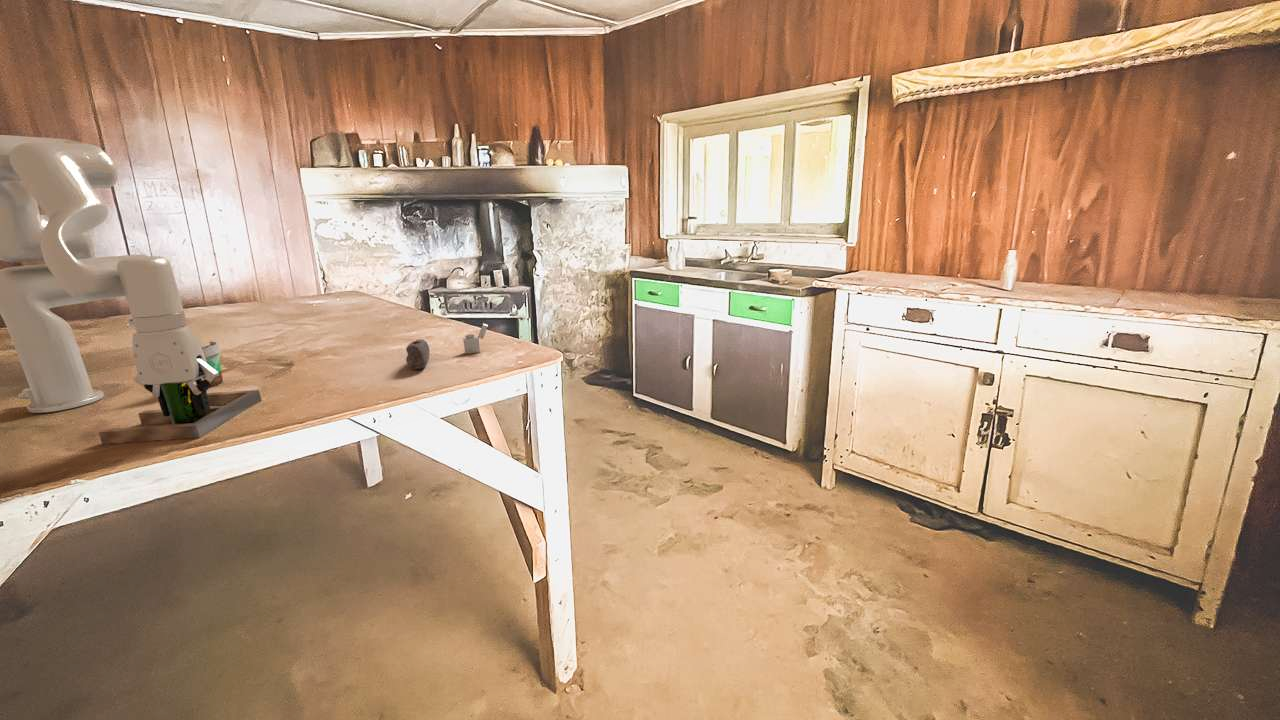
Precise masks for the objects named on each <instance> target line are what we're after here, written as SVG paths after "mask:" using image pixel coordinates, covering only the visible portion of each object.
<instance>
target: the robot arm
mask: <svg viewBox="0 0 1280 720" xmlns="http://www.w3.org/2000/svg"><path fill="white" fill-rule="evenodd" d="M118 173H119V172H118V170H117V166H116V164H115V162H114V161H113V159H112V158H111V157H110V155H109V154H108V153H107V152H105V151H104V150H103V149H102V148H100V147H99V146H96V145H94V144H90V143H85V142H80V141H76V140H72V139H66V138H55V137H41V136H40V137H39V136H38V137H37V136H21V135H13V134H12V135H10V134H9V135H8V134H0V261H2V262H8V263H24V262H26V263H29V262H39V261H44V264H32V265H31V264H30V265H20V266H10V267H5V268H1V269H0V316H1V317H2V319H3V322H4V324H5V326H6V330H7V331H8V333H9V336H10V339H11V341H12V343H13V346H14V348H15V351H16V354H17V357H18V359H19V361H20V365H21V367H22V369H23V372H24V375H25V377H26V380H27V383H28V386H29V388H24V389H22V391H21V392H20V393H18V394H17V398H18V399H19V400H26V399H27V400H28V399H29V401H30V403H29V404H28V405H27V406H26V409H27V412H29V413H32V414H42V413H43V414H44V413H52V412H59V411H65V410H69V409H74V408H78V407H82V406H86V405H89V404H92V403H95V402H97V401H99V400H101V399H102V398H104V396H105V394H104V391H103V390H100V389H93V387H92V384H91V380H90V377H89V375H88V372H87V369H86V366H85V363H84V360H83V358H82V355H81V351H80V348H79V345H78V343H77V340H76V339H77V338H76V337H75V335H74V332H73V329H72V327H71V324H70V323H68V321H67V320H65V319H64V318H63V317H60V316H59V315H57V314H56V313H53V312H52V311H51V310H50V309H54V308H57V307H64V306H72V305H78V304H85V303H89V302H97V301H102V300H103V301H104V300H108V299H110V300H111V299H116V298H123V297H125V300H126V303H127V306H128V309H129V312H130V315H131V318H130V319H128V325H129V326H131V327H134V329H135V332H134V333H132V336H131V337H132V339H131V340H132V341H131V342H132V353H133V359H134V363H135V368H136V371H137V374H136V376H135V377H134V379H133V381H134V382H135V383H136V384H137V385H139V386H141V387H144V389H145V390H146V391H148V392H149V393H151V394H152V396H153V398H157V399H158V403H159V407H160V410H162V412H163V416H164V417H166V416H170V414H169V411H168V408H167V404H166V401H165V398H164V394H163V391H162V388H161V385H160V384H165V383H187V384H188V386H189V387H190V389H191V390H192V392H193V393H194V395H192V396H191V398H192V402H193V405H194V408H195V412H196V414H202V413H204V412H206V411H208V410H209V409H210V403H209V399H208V396H207V393H208V392H207V391H209V390H210V389H209V387H210V385H211V384H212V383H213V381H214V380H215V379H216V378H217V377H218V376H219V373H218V372H217V371H216V370H215V369H213V368H212V367H211V366H209V365H208V364H207V362H206V359H205V356H204V353H203V350H202V345H201V342H200V341H199V338H198V336H197V335H196V333H195V331H194V329H193V328H192V327H191V326H190V327H189V324H188V321H187V318H186V314H185V311H184V307H183V303H182V299H181V296H180V292H179V289H178V284H177V282H176V278H175V275H174V272H173V268H172V265H171V263H170V261H169V260H168V259H167V258H166V257H163V256H160V255H159V256H157V255H155V256H154V255H153V256H148V255H145V254H125V255H115V256H114V255H110V256H103V257H102V256H101V257H96V255H95V249H94V243H93V239H92V236H91V233H90V231H91V230H93V229H95V228H97V227H99V226H100V225H101V224H102V223H103V224H104V222H105V220H107V218H108V215H109V209H108V207H107V205H106V204H105V203H104V201H103V200H102V198H101V196H100V195H99V194H98V193H97V191H96V190H95V189H110V188H112V187H114V186H115V185H116V184H117V182H118V177H119V176H118V175H119V174H118ZM39 207H40V208H41V210H42V211H43V212H44V214H41V213H40V210H39ZM204 375H206V377H205V379H203V377H202V376H204ZM195 381H196V382H197V383H196V382H195ZM197 384H198V385H197Z"/></svg>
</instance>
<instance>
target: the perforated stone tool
mask: <svg viewBox="0 0 1280 720" xmlns="http://www.w3.org/2000/svg"><path fill="white" fill-rule="evenodd" d="M405 351H406V352H407V356H406V359H405V361H406V363H407V365H408V367H409V368H410V369H412V370H422V369H424V368H425V367H427V364H428V363H429V360H430V359H429V358H430V346H429V344H428V342H427V341H426V340H424V339H421V338H420V339H416V340H414V341H412V342H410V343H408V345H407V346H406V348H405Z"/></svg>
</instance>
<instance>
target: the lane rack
mask: <svg viewBox="0 0 1280 720" xmlns="http://www.w3.org/2000/svg"><path fill="white" fill-rule="evenodd" d="M207 396H208V399H209V403H210V405H214V406H210V409H209V410H208V411H206V412H205V413H206V416H205V417H204V418H202V419H200V420H198V421H196V422H195V423H190V424H175V425H173V424H171V423H170V422H172V421H171V417H170V416H166V417H164V416H163V412H162V410H161V409H151V410H149V409H148V410H142V411H141V412H138V413H137V414H138V418H139V421H140V424H141V425H142V424H146V425H144V426H131V427H118V428H117V427H116V428H104V429H102V430H101V431H98V435H99V439H100V441H101V445H102V444H103V445H111V444H110V443H118V444H124V443H123V442H132V443H141V442H140V441H147V442H155V441H154V440H162V441H171V440H170V439H176V440H186V439H185V438H191V439H200V438H202V437H204V436H206V435H207V434H208V433H210V432H212V431H213V429H214V430H215V429H217V428H218V427H221V426H222V425H223V424H225V423H227V422H228V421H230V420H231V418H232V419H233V418H235V417H237V416H239V415H240V414H242V413H243V412H245V411H247V410H248V409H250V408H251V407H253V406H254V404H255V405H256V404H258V403H260V402H261V401H262V396H261V393H260V389H252V390H236V391H234V390H233V391H222V392H219V391H218V392H207ZM260 400H261V401H260ZM259 401H260V402H259ZM257 402H258V403H257ZM224 404H225V405H224ZM252 405H253V406H252ZM249 407H250V408H249ZM247 408H248V409H247ZM244 410H245V411H244ZM242 411H243V412H242ZM239 413H240V414H239ZM236 415H237V416H236ZM234 416H235V417H234ZM229 419H230V420H229ZM226 421H227V422H226ZM157 423H161V424H162V425H158V424H157ZM221 424H222V425H221ZM147 425H150V426H147Z"/></svg>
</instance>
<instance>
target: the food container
mask: <svg viewBox="0 0 1280 720" xmlns="http://www.w3.org/2000/svg"><path fill="white" fill-rule="evenodd" d="M201 348H202V350H203V353H204V356H205V359H206V362H207V364H208V365H209V366H211V367H212V368H213V369H215V370H216V371H217V372H218V373H219V376H218V377H217V378H216V379H215V380H214V381H213V383H212V384H211V385H210V387H209V388H210V389H212V388H211V387H213V388H215V387H214V386H216V387H218V386H217V385H219V384H221V383H222V382H223V383H224V379H223V371H222V367H221V360H220V353H221V352H222V348H221V347H220V346H219V344H218V343H217V342H216V341H209V344H208V345H205V346H203V347H202V346H201ZM202 377H203V379H205V377H206V375H204V376H202ZM223 383H222V384H223ZM222 384H221V385H222ZM197 385H198V384H197ZM219 386H220V385H219Z"/></svg>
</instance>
